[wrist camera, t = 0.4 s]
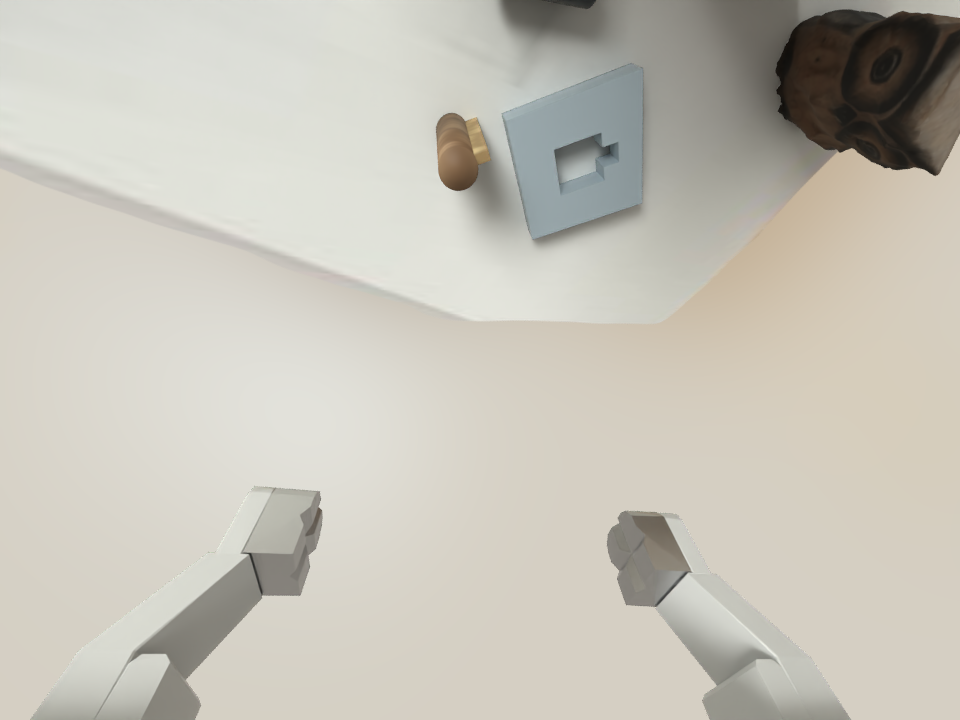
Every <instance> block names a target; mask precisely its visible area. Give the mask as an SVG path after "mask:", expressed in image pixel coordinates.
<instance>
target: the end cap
mask: <svg viewBox="0 0 960 720" xmlns="http://www.w3.org/2000/svg"><path fill="white" fill-rule="evenodd" d="M544 1H549V2H554V3H559V4H564V5H569V6H574V7H579V8H584V9H588V8H590V7H591V6H592V5H593V4H594V3H595V1H596V0H544Z"/></svg>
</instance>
